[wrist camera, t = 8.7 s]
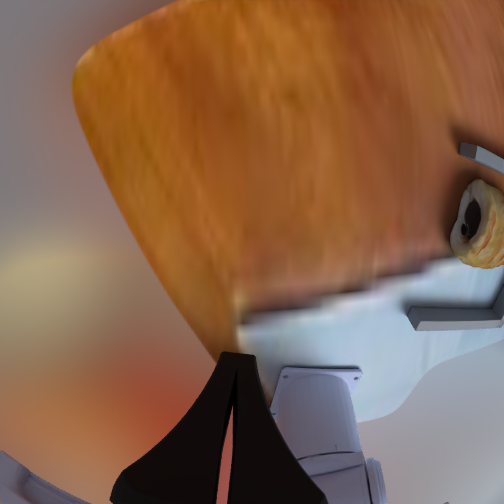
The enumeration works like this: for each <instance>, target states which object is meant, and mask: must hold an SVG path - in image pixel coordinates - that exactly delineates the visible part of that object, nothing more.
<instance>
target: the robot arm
mask: <svg viewBox="0 0 504 504" xmlns="http://www.w3.org/2000/svg"><path fill="white" fill-rule="evenodd" d="M362 374H363V373H362V370H360V369H311V368H291V367H285V368H283V369H282V370H281V373H280V377H279V380H278V384H277V387H276V390H275V394H274V397H273V400H272V403H271V407H270V409H269V406H268V404H267V401H266V398H265V395H264V392H263V389H262V386H261V382H260V378H259V374H258V369H257V362H256V357H255V356H254V355H250V354H241V353H233V352H225V351H224V352H222V353H221V355H220V358H219V360H218V363H217V365H216V367H215V370H214V372H213V373H212V375H211V377H210V379H209V381H208V382H207V384H206V386H205V387H204V389H203V391H202V392H201V394H200V395H199V397H198V398H197V399H196V401H195V402H194V404H193V405H192V407H191V408H190V409H189V410H188V412H187V413H186V414H185V416H184V417H183V418H182V419H181V420H180V421H179V423H178V424H177V425H176V426H175V427H174V428H173V429H172V430H171V431H170V432H169V433H168V434H167V435H166V436H165V437H164V438H163V439H162V440H161V441H160V442H159V443H158V444H157V445H156V446H154V447H153V448H152V449H151V450H150V451H149V452H148V453H146V454H145V455H144V456H142V457H141V458H140V459H138V460H137V461H136V462H134V463H133V464H131V465H130V466H128V467H127V468H126V469H124V470H123V471H122V472H121V474H120V475H119V477H118V478H117V480H116V482H115V484H114V486H113V489H112V492H111V496H110V501H111V502H112V503H113V504H216V500H217V492H218V483H219V474H220V466H221V458H222V451H223V446H224V442H225V437H226V433H227V428H228V424H229V419H230V414H231V410H232V406H233V451H232V464H231V473H230V481H229V491H228V501H227V504H388V502H387V495H386V489H385V484H384V479H383V474H382V469H381V464H380V462H379V461H377V460H374V458H369V459H367V460H366V461H367V464H366V461H365V458H364V455H363V452H362V447H361V442H360V437H359V432H358V427H357V422H356V417H355V413H354V408H353V404H352V399H351V393H352V392H353V390H354V388H355V387H356V385H357V383H358V381H359V380H360V378H361V376H362ZM275 420H276V423H275ZM367 469H368V470H367ZM0 501H1V502H2V503H3V504H90V503H88V502H85V501H84V500H81V499H79V498H77V497H75V496H73V495H71V494H69V493H67V492H65V491H63V490H61V489H59V488H57V487H56V486H54V485H52V484H50V483H49V482H47V481H45V480H43V479H42V478H40V477H38V476H37V475H35V474H33V473H32V472H30V471H29V470H28V469H27V468H26V467H25V466H23V465H22V464H20V463H19V462H18V461H16V460H15V459H13V458H12V457H11V456H9V455H8V454H6V453H5V452H4V451H0ZM444 504H449V503H448V502H446V503H444Z"/></svg>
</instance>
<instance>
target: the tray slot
mask: <svg viewBox="0 0 504 504" xmlns="http://www.w3.org/2000/svg"><path fill="white" fill-rule="evenodd" d="M459 155H461V156H463V157H466V158H468V159H470V160H473V161H475V162H477V163H479V164H481V165H484V166H486V167H488V168H490V169H492V170H494V171H496V172H498V173H500V174H502V175H504V159H502V158H500V157H498V156H497V155H495V154H493V153H491V152H489V151H487V150H485V149H483V148H481V147H479V146H477V145H473V144H469V143H464V142H461V146H460V152H459ZM407 317H408V319H409V321H410V322H411V324H412V326H413V327H414V329H415V331H443V330H469V329H486V328H500V327H502V326H503V324H504V285H503V287H502V290H501V292H500V294H499V296H498V298H497V300H496V302H495V304H494V306H493V308H492V309H456V308H425V307H411V309H410V311H409V313H408V315H407Z"/></svg>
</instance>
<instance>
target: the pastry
mask: <svg viewBox="0 0 504 504" xmlns="http://www.w3.org/2000/svg"><path fill="white" fill-rule="evenodd" d="M450 243H451V248H452V251H453V252H454V254H455V256H456V257H458V258H459V259H460V260H461V261H462V262H463V263H464V264H466V265H470V266H472V267H480V268H482V269H489V268H490V269H492V268H494V267H499V266H500V265H504V192H502V191H501V190H499V189H497V188H495V187H492V186H490V185H488V184H486V183H485V182H484V181H483V180H482V179H476V180H474V181H473V182H472V183H470V184H468V186H467V189H466V190H465V191H464V193H463V196H462V199H461V202H460V207H459V212H458V218H457V221H456V223H455V224H454V227H453V229H452V232H451V235H450Z"/></svg>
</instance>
